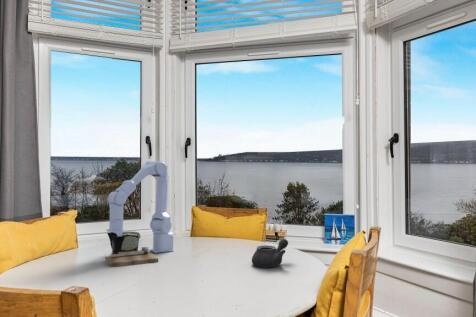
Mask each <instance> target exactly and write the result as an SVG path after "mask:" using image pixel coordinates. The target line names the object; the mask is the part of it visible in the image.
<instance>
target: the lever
mask: <svg viewBox="0 0 476 317" xmlns="http://www.w3.org/2000/svg"><path fill="white" fill-rule="evenodd" d="M147 253H150V250H149V247H148V246H143V247H141V249H140V250H139V249H138V251H128V252H115V248H114V242H113V241H112V248H111V253H110V257H118V256H128V255H137V254H147Z"/></svg>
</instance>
